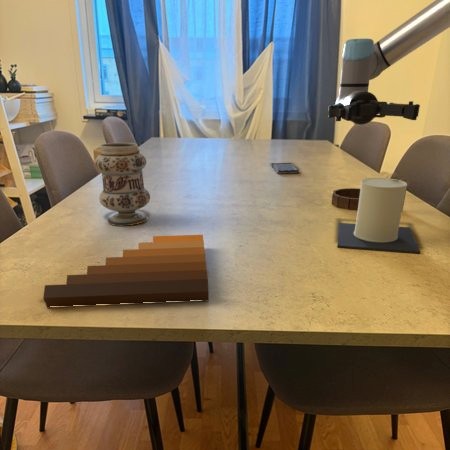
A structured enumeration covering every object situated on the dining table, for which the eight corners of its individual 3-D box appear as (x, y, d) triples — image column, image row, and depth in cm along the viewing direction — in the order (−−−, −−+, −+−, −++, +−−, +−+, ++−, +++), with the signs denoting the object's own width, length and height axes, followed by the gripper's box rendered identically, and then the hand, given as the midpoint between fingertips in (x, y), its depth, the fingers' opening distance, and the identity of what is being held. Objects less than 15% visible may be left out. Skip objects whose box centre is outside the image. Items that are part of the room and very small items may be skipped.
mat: (409, 229, 100) (410, 227, 99) (419, 254, 86) (420, 251, 86) (338, 224, 103) (338, 222, 103) (337, 247, 89) (337, 245, 89)
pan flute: (46, 310, 66) (208, 303, 68) (41, 290, 65) (208, 283, 66) (81, 251, 88) (203, 247, 90) (78, 235, 87) (202, 231, 88)
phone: (290, 162, 170) (299, 170, 157) (290, 165, 170) (298, 173, 157) (270, 163, 169) (277, 170, 156) (270, 166, 170) (277, 173, 157)
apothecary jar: (151, 212, 113) (145, 140, 105) (152, 226, 103) (145, 147, 95) (104, 214, 112) (94, 141, 103) (100, 229, 101) (88, 148, 93)
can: (406, 237, 93) (417, 181, 88) (379, 245, 88) (388, 187, 83) (372, 226, 100) (380, 173, 94) (344, 234, 95) (351, 178, 90)
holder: (399, 201, 122) (404, 170, 118) (404, 213, 111) (410, 180, 107) (332, 197, 126) (335, 168, 122) (330, 209, 115) (334, 177, 111)
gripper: (407, 122, 111) (439, 132, 92) (309, 123, 112) (321, 133, 93) (412, 90, 107) (447, 93, 89) (311, 91, 109) (324, 94, 90)
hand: (382, 113), depth 91 cm, fingers open, 13 cm apart
